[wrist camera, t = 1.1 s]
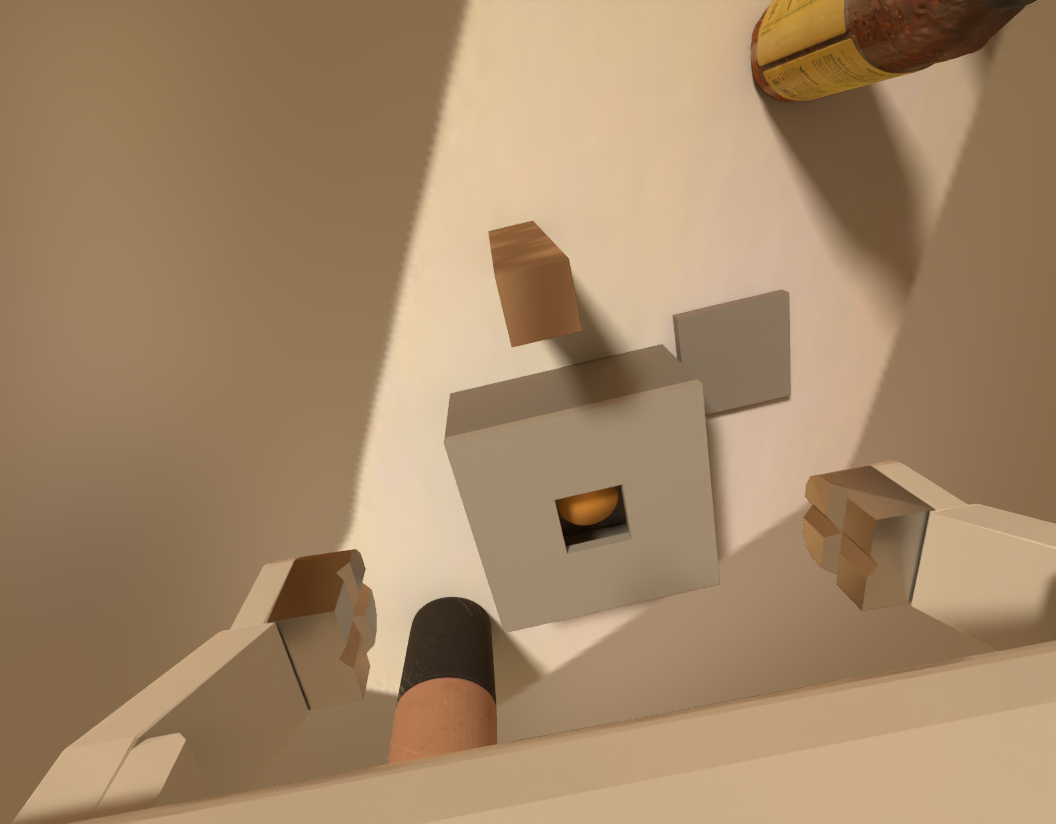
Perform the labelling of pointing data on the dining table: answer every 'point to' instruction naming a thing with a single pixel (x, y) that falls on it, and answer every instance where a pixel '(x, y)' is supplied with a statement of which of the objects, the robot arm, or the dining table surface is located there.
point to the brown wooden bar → (533, 284)
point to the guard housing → (586, 484)
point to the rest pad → (737, 350)
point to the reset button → (588, 506)
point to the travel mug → (446, 683)
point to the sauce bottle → (865, 41)
